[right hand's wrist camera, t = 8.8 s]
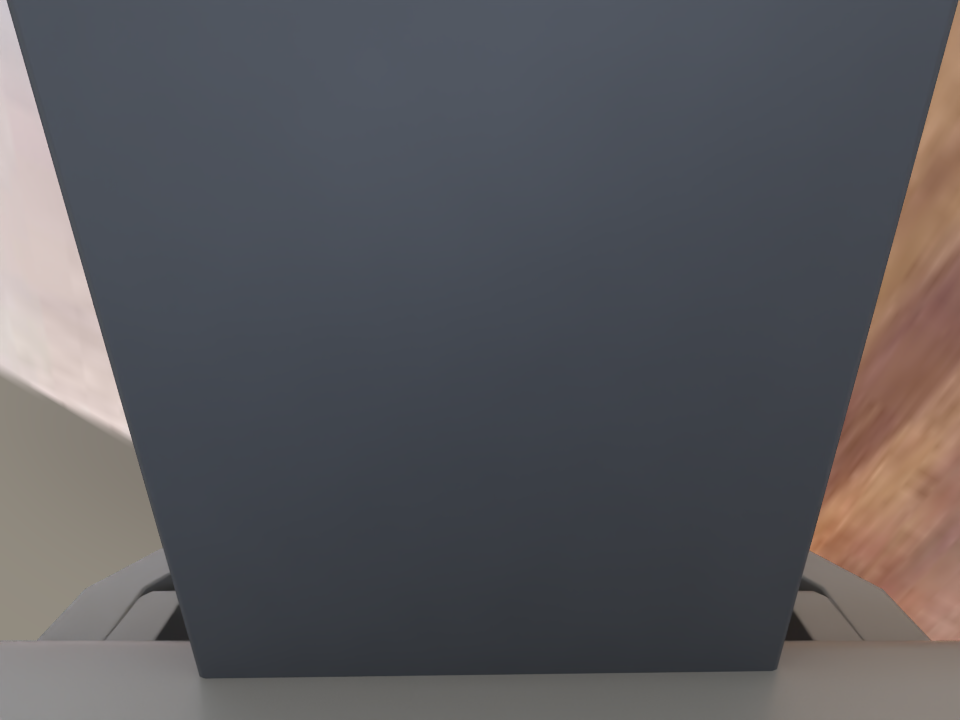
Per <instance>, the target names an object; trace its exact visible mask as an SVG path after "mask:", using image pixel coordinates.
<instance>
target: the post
mask: <svg viewBox="0 0 960 720" xmlns="http://www.w3.org/2000/svg"><path fill="white" fill-rule="evenodd" d="M7 3H8V7H9V10H10V14H11V17H12V21H13V24H14V28H15V31H16V35H17V38H18V42H19V45H20V49H21V52H22V56H23V59H24V63H25V66H26V70H27V73H28V77H29V80H30V84H31V87H32V91H33V94H34V98H35V101H36V105H37V108H38V112H39V115H40V119H41V122H42V126H43V129H44V133H45V136H46V140H47V143H48V147H49V150H50V154H51V157H52V161H53V164H54V168H55V171H56V175H57V178H58V182H59V185H60V189H61V192H62V196H63V199H64V203H65V206H66V210H67V213H68V217H69V220H70V224H71V227H72V231H73V234H74V238H75V241H76V245H77V248H78V252H79V255H80V259H81V262H82V266H83V269H84V273H85V276H86V280H87V283H88V287H89V290H90V294H91V297H92V301H93V304H94V308H95V311H96V315H97V318H98V322H99V325H100V329H101V332H102V336H103V339H104V343H105V346H106V350H107V353H108V357H109V360H110V364H111V367H112V371H113V375H114V378H115V382H116V385H117V389H118V392H119V396H120V399H121V403H122V406H123V410H124V413H125V417H126V420H127V424H128V427H129V431H130V434H131V438H132V441H133V445H134V448H135V452H136V455H137V459H138V462H139V466H140V469H141V473H142V476H143V480H144V483H145V487H146V490H147V494H148V497H149V501H150V504H151V508H152V511H153V515H154V518H155V522H156V525H157V529H158V532H159V536H160V539H161V543H162V546H163V550H164V553H165V557H166V560H167V564H168V567H169V571H170V574H171V578H172V581H173V585H174V588H175V592H176V595H177V599H178V602H179V606H180V609H181V613H182V616H183V620H184V623H185V627H186V630H187V634H188V637H189V641H190V644H191V648H192V651H193V655H194V658H195V662H196V665H197V669H198V672H199V676H200V677H202V678H205V679H211V678H287V677H362V676H438V675H514V674H590V673H666V672H742V671H774V670H776V669H777V667H778V663H779V660H780V656H781V652H782V649H783V645H784V641H785V638H786V634H787V630H788V626H789V623H790V619H791V615H792V612H793V608H794V604H795V601H796V597H797V593H798V590H799V586H800V582H801V579H802V575H803V571H804V567H805V564H806V560H807V556H808V553H809V549H810V545H811V542H812V538H813V534H814V531H815V527H816V523H817V520H818V516H819V512H820V508H821V505H822V501H823V497H824V494H825V490H826V486H827V483H828V479H829V475H830V472H831V468H832V464H833V461H834V457H835V453H836V449H837V446H838V442H839V438H840V435H841V431H842V427H843V424H844V420H845V416H846V413H847V409H848V405H849V401H850V398H851V394H852V390H853V387H854V383H855V379H856V376H857V372H858V368H859V365H860V361H861V357H862V354H863V350H864V346H865V342H866V339H867V335H868V331H869V328H870V324H871V320H872V317H873V313H874V309H875V306H876V302H877V298H878V295H879V291H880V287H881V283H882V280H883V276H884V272H885V269H886V265H887V261H888V258H889V254H890V250H891V247H892V243H893V239H894V236H895V232H896V228H897V224H898V221H899V217H900V213H901V210H902V206H903V202H904V199H905V195H906V191H907V188H908V184H909V180H910V176H911V173H912V169H913V165H914V162H915V158H916V154H917V151H918V147H919V143H920V140H921V136H922V132H923V129H924V125H925V121H926V117H927V114H928V110H929V106H930V103H931V99H932V95H933V92H934V88H935V84H936V81H937V77H938V73H939V70H940V66H941V62H942V58H943V55H944V51H945V47H946V44H947V40H948V36H949V33H950V29H951V25H952V22H953V18H954V14H955V11H956V7H957V3H958V0H7Z"/></svg>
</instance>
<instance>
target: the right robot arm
mask: <svg viewBox="0 0 960 720" xmlns="http://www.w3.org/2000/svg"><path fill="white" fill-rule="evenodd" d="M0 720H960V641H931V640H930V639H929V638H928V637H927V636H926V634H925V633H924V632H923V631H922V630H921V629H920V628H919V627H918V626H917V625H916V624H915V623H914V622H913V621H912V620H911V619H910V618H909V617H908V615H907V614H906V613H905V612H904V611H903V610H902V609H901V608H900V607H899V606H898V605H897V604H896V603H895V602H894V601H893V600H892V599H891V598H890V596H889V595H888V594H887V593H886V592H885V591H884V590H883V589H881V588H879V587H877V586H875V585H874V584H872V583H870V582H868V581H866V580H864V579H862V578H860V577H858V576H856V575H855V574H853V573H851V572H849V571H847V570H845V569H843V568H841V567H839V566H838V565H836V564H834V563H832V562H830V561H828V560H826V559H824V558H822V557H821V556H819V555H817V554H815V553H813V552H811V551H809V553H808V556H807V560H806V564H805V567H804V571H803V575H802V579H801V582H800V586H799V590H798V593H797V597H796V601H795V604H794V608H793V612H792V615H791V619H790V623H789V626H788V630H787V634H786V638H785V641H784V645H783V649H782V652H781V656H780V660H779V663H778V667H777V669H776V670H774V671H742V672H666V673H590V674H514V675H438V676H362V677H287V678H211V679H205V678H202V677H200V676H199V672H198V669H197V665H196V662H195V658H194V655H193V651H192V648H191V644H190V641H189V637H188V634H187V630H186V627H185V623H184V620H183V616H182V613H181V609H180V606H179V602H178V599H177V595H176V592H175V588H174V585H173V581H172V578H171V574H170V571H169V567H168V564H167V560H166V557H165V553H164V550H163V548H161V549H159V550H157V551H155V552H153V553H151V554H149V555H148V556H146V557H144V558H142V559H140V560H138V561H136V562H134V563H133V564H131V565H129V566H127V567H125V568H123V569H121V570H119V571H117V572H116V573H114V574H112V575H110V576H108V577H106V578H104V579H102V580H101V581H99V582H97V583H95V584H93V585H91V586H89V587H87V588H86V589H84V591H83V592H82V593H81V594H80V595H79V596H78V597H77V598H76V599H75V600H74V601H73V602H72V603H71V604H70V605H69V607H68V608H67V609H66V610H65V611H64V612H63V613H62V614H61V615H60V616H59V617H58V618H57V619H56V620H55V621H54V623H53V624H52V625H51V626H50V627H49V628H48V629H47V630H46V631H45V632H44V633H43V634H42V635H41V636H40V637H39V639H38V640H37V641H0Z"/></svg>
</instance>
